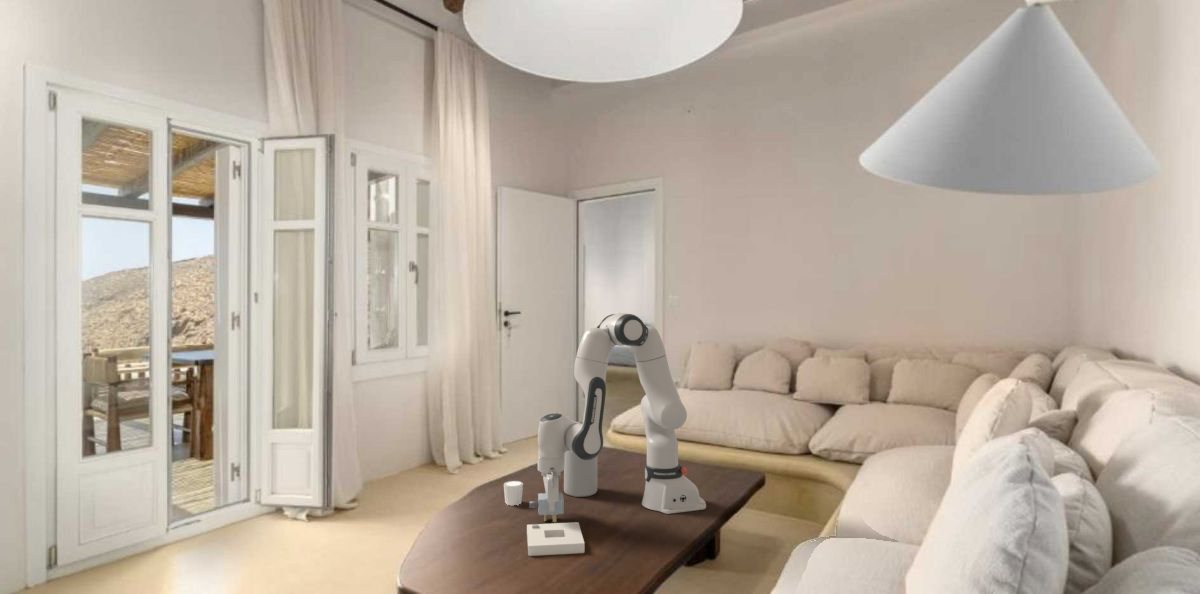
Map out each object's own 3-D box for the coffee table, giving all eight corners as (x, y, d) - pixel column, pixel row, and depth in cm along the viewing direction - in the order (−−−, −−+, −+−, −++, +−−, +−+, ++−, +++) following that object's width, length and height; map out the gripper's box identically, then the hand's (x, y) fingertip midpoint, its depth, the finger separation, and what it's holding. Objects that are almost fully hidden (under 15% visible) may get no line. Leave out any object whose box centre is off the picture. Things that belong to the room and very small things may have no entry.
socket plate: (578, 531, 189) (578, 519, 189) (584, 552, 174) (584, 540, 173) (526, 533, 187) (526, 522, 187) (528, 555, 171) (528, 543, 171)
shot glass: (519, 507, 210) (519, 487, 210) (500, 505, 211) (500, 485, 211) (525, 500, 217) (525, 481, 217) (507, 499, 218) (507, 479, 218)
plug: (562, 516, 202) (562, 492, 202) (563, 523, 196) (563, 498, 196) (528, 518, 200) (529, 493, 200) (529, 524, 194) (529, 500, 194)
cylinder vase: (598, 487, 232) (599, 422, 232) (595, 498, 220) (595, 429, 220) (566, 486, 234) (567, 421, 233) (561, 496, 221) (561, 428, 221)
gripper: (563, 473, 188) (563, 517, 188) (558, 455, 208) (558, 495, 208) (543, 474, 187) (542, 518, 187) (539, 456, 207) (539, 496, 208)
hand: (550, 506), depth 198 cm, fingers closed on plug, 6 cm apart
